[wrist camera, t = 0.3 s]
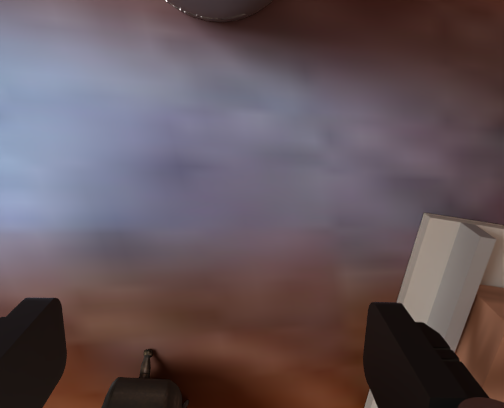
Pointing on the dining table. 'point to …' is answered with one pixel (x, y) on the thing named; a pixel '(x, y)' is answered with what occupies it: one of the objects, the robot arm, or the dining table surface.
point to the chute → (450, 273)
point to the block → (485, 341)
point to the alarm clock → (144, 391)
